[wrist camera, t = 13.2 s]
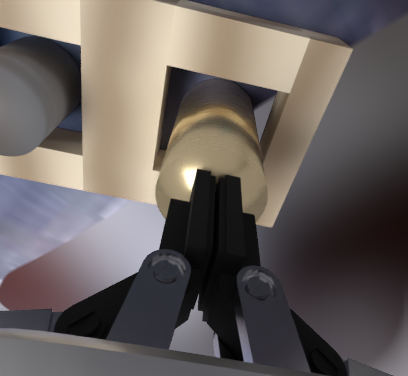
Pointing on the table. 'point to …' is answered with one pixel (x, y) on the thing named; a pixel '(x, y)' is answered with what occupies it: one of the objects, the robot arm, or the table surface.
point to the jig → (149, 88)
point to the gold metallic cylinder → (214, 145)
